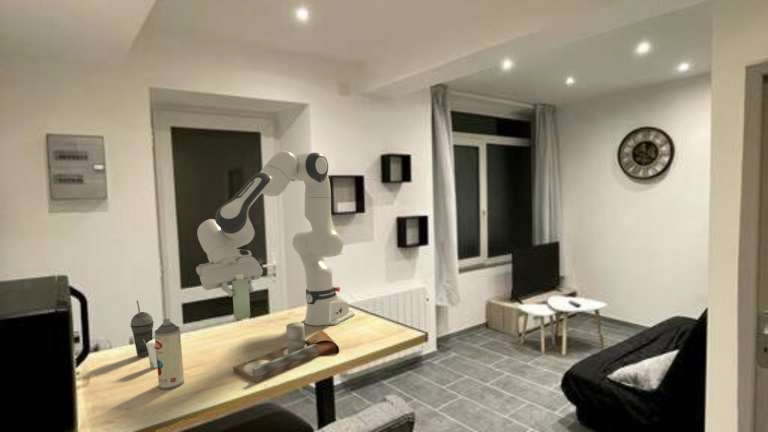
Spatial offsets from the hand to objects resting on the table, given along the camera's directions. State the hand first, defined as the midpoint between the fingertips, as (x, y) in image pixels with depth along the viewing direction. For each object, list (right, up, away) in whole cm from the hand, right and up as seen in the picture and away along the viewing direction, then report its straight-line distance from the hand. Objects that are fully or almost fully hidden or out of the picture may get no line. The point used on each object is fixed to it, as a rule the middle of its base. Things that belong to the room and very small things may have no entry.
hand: (241, 292), depth 137 cm
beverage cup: (-40, -25, +15) cm, 49 cm away
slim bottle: (0, -8, +1) cm, 8 cm away
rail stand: (+11, -24, +3) cm, 26 cm away
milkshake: (-30, -26, +4) cm, 40 cm away
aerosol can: (-18, -26, -9) cm, 33 cm away
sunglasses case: (+23, -23, +16) cm, 36 cm away
